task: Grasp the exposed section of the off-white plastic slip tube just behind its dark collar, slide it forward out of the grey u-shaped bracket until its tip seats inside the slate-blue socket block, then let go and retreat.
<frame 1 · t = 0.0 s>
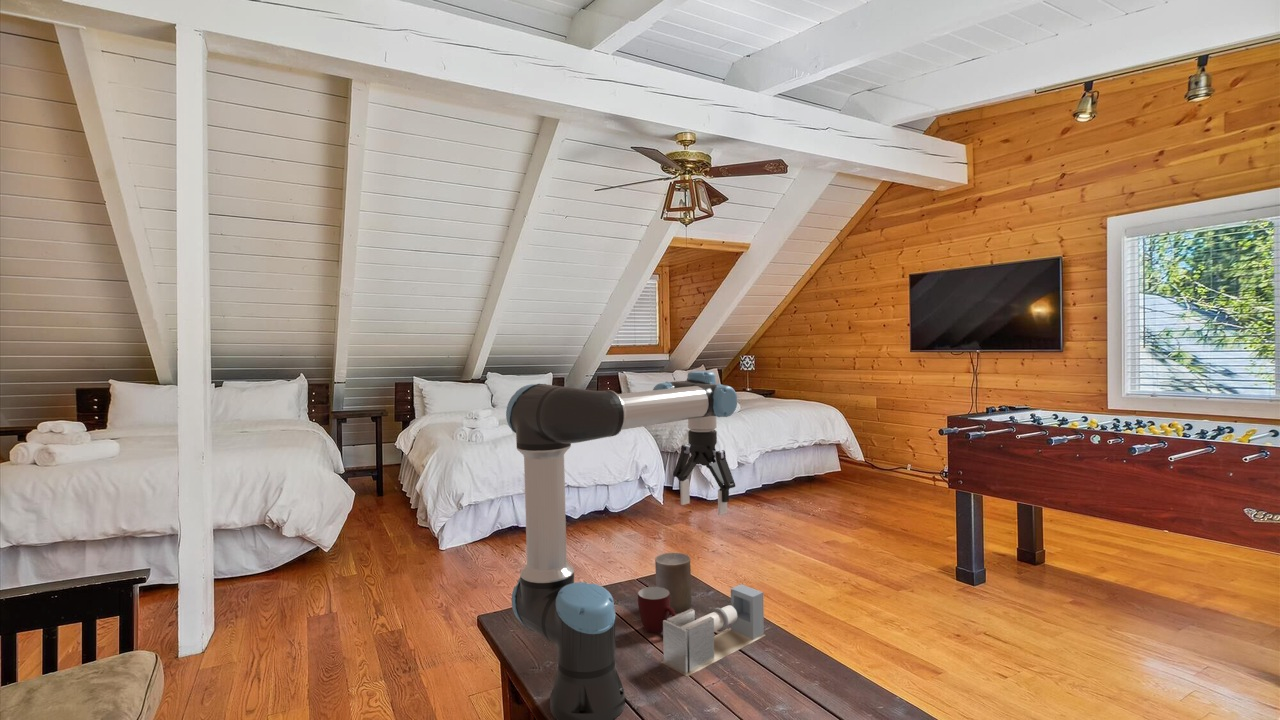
hand: (703, 508, 174), 28 cm above the table, fingers open, 13 cm apart
pillar candle: (673, 608, 179), on the table
slip tube: (705, 625, 152), point 7 cm above the table, slide at 0.0 cm
grey u-shaped bracket: (690, 660, 149), resting on base board
socket block: (747, 632, 162), resting on base board
base board: (715, 651, 154), on the table
mug: (658, 633, 164), on the table
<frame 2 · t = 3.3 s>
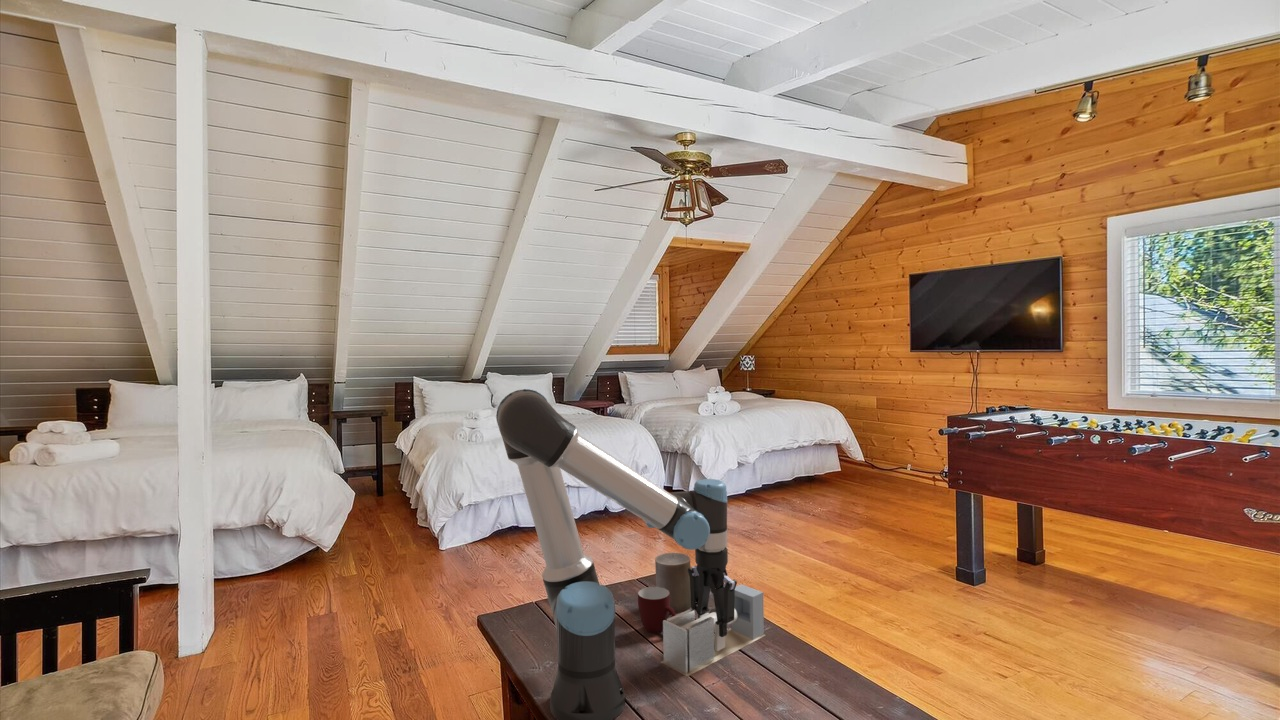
hand: (712, 644, 154), 2 cm above the table, fingers closed on slip tube, 4 cm apart
slip tube: (705, 625, 152), point 7 cm above the table, slide at 0.0 cm, touching gripper
everything else where it was.
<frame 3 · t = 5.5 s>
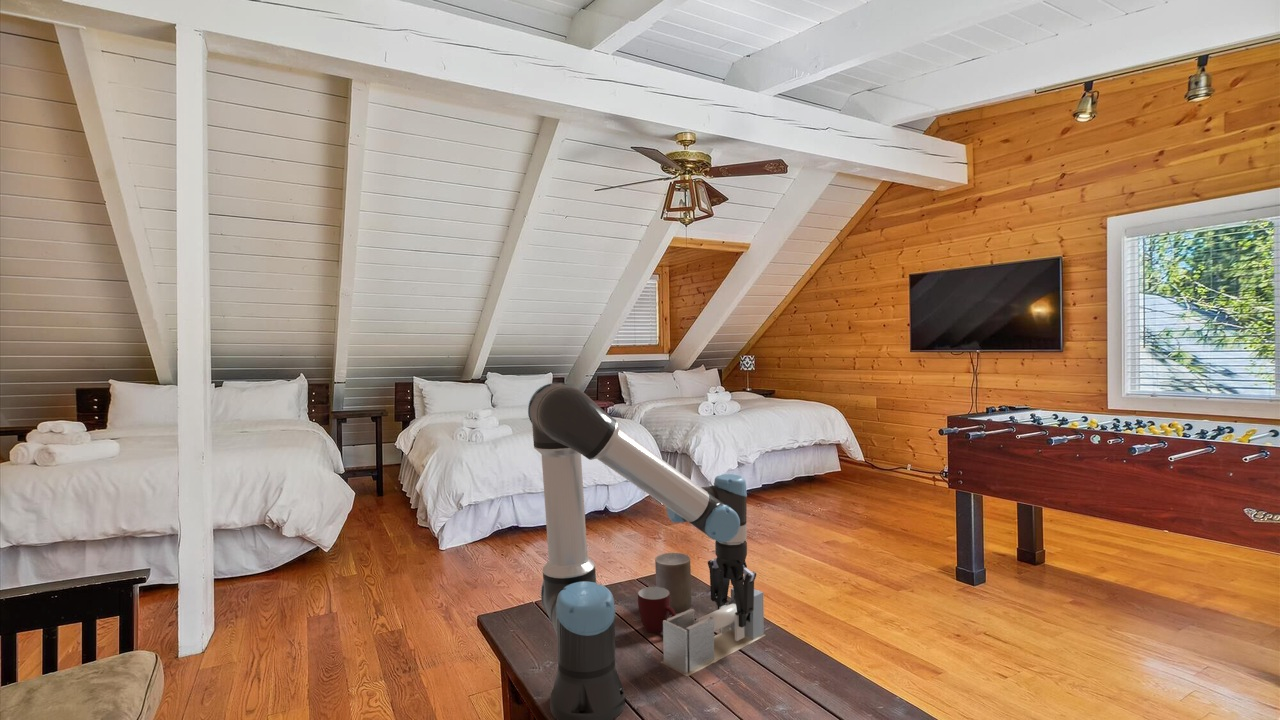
hand: (732, 635, 158), 2 cm above the table, fingers closed on slip tube, 4 cm apart
slip tube: (725, 616, 156), point 7 cm above the table, slide at 7.0 cm, touching gripper
everything else where it was.
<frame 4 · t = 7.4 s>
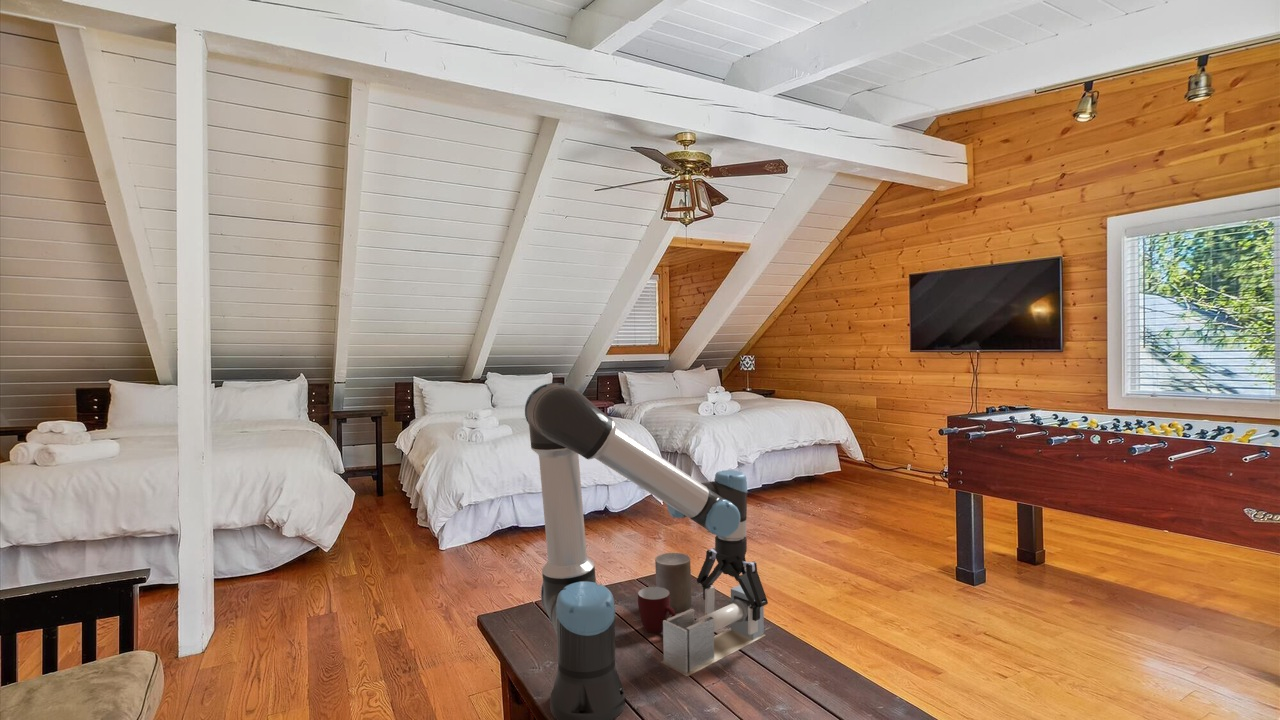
hand: (730, 623, 158), 5 cm above the table, fingers open, 13 cm apart
slip tube: (725, 616, 156), point 7 cm above the table, slide at 7.0 cm
everything else where it was.
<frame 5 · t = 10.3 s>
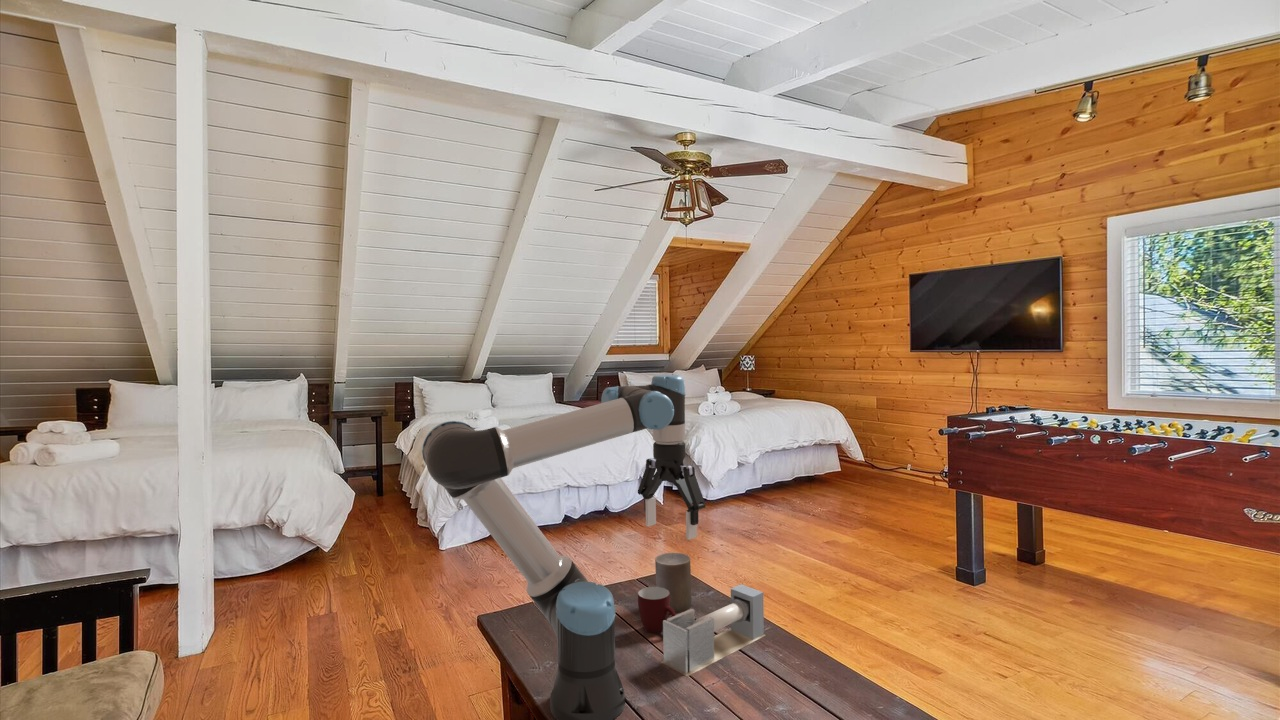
hand: (670, 531, 153), 29 cm above the table, fingers open, 13 cm apart
nothing on the table moved.
at the end: slip tube slide at 7.0 cm; the gripper is holding nothing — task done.
